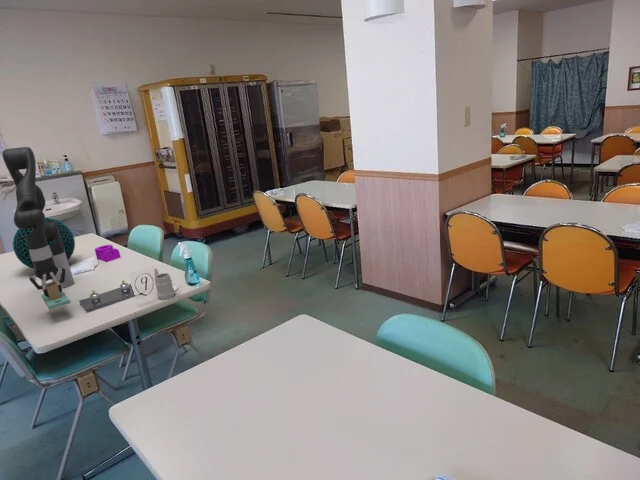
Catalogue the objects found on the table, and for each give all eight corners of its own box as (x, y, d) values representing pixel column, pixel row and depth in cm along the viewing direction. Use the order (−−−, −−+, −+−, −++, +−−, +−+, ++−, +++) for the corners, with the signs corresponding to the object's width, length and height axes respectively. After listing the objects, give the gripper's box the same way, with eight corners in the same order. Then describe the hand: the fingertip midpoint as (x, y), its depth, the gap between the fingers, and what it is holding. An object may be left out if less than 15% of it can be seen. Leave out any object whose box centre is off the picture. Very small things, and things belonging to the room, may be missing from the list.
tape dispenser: (94, 258, 270) (92, 248, 268) (111, 253, 277) (108, 243, 275) (105, 262, 259) (102, 252, 258) (122, 257, 266) (119, 247, 264)
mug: (162, 301, 195) (156, 275, 191) (151, 295, 203) (145, 270, 200) (178, 295, 200) (172, 270, 196) (167, 289, 208) (161, 265, 205)
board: (41, 297, 197) (36, 282, 194) (61, 291, 201) (57, 276, 199) (49, 310, 183) (43, 293, 181) (70, 303, 188) (65, 286, 185)
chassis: (80, 303, 203) (76, 290, 201) (133, 286, 217) (130, 273, 215) (87, 312, 192) (83, 298, 190) (143, 293, 206) (139, 280, 204)
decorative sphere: (83, 255, 278) (70, 208, 270) (77, 270, 251) (61, 218, 242) (29, 266, 269) (13, 218, 260) (16, 282, 242) (-2, 229, 233)
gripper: (59, 250, 193) (70, 286, 198) (21, 260, 185) (33, 298, 190) (62, 253, 187) (74, 291, 193) (23, 264, 179) (36, 303, 184)
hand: (53, 294), depth 191 cm, fingers closed on board, 4 cm apart
